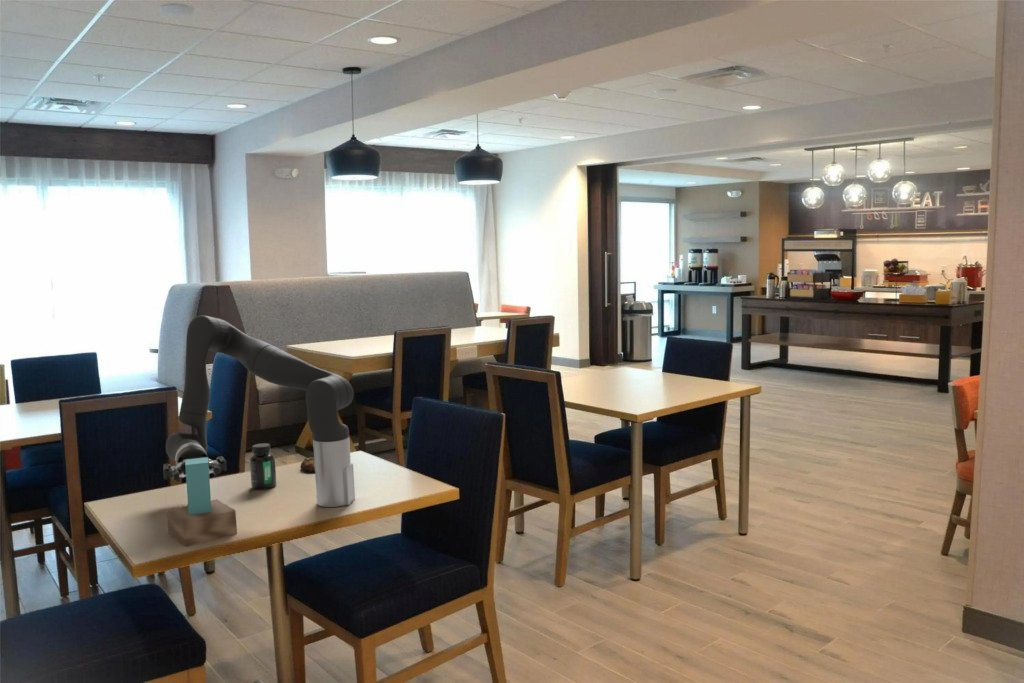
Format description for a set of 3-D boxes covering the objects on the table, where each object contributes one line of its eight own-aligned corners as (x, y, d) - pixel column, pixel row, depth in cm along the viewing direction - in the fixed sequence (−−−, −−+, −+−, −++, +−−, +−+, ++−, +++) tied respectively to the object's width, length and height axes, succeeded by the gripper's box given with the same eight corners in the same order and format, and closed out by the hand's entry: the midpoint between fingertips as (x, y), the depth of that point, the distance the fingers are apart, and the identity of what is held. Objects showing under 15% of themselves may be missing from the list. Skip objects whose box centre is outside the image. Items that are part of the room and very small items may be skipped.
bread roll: (292, 471, 242) (293, 455, 242) (313, 467, 253) (314, 451, 253) (324, 476, 238) (325, 459, 238) (344, 471, 249) (345, 454, 249)
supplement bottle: (274, 489, 225) (271, 447, 224) (249, 490, 224) (246, 448, 223) (278, 482, 232) (275, 441, 230) (253, 484, 231) (251, 443, 230)
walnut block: (218, 522, 199) (216, 499, 198) (237, 534, 190) (235, 510, 189) (168, 535, 191) (166, 510, 191) (185, 548, 182) (183, 522, 182)
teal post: (211, 505, 193) (208, 457, 192) (211, 512, 188) (208, 462, 187) (188, 508, 191) (185, 459, 190) (188, 515, 187) (185, 464, 185)
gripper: (160, 449, 201) (163, 463, 187) (220, 441, 208) (227, 454, 193) (162, 478, 202) (166, 494, 188) (222, 469, 208) (230, 485, 194)
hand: (197, 474), depth 190 cm, fingers open, 8 cm apart
